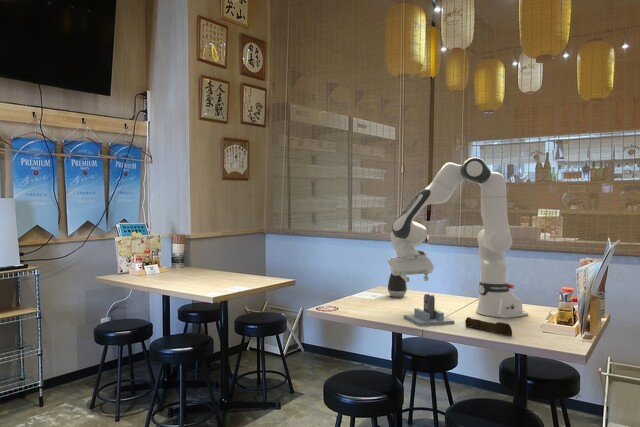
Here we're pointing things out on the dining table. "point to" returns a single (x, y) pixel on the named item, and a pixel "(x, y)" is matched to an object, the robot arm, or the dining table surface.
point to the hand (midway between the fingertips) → (417, 280)
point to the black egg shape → (396, 286)
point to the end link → (429, 304)
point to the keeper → (428, 318)
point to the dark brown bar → (490, 326)
